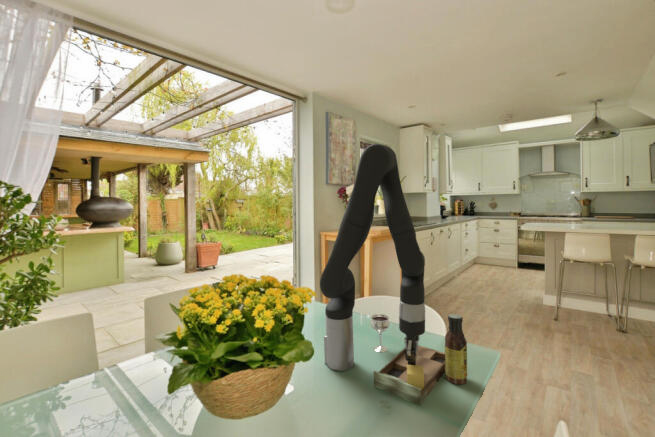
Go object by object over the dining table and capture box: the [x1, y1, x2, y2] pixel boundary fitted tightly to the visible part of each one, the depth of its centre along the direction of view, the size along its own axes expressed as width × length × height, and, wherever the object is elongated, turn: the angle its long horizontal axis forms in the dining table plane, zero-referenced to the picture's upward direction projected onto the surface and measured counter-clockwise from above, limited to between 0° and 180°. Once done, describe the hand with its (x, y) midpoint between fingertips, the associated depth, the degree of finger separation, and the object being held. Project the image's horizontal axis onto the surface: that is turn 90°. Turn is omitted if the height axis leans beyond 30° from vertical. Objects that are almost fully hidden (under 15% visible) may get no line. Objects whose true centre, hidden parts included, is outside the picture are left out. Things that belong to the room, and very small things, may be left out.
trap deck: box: [372, 344, 445, 406], centre depth 98 cm, size 14×28×4 cm, turn 141°
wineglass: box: [370, 313, 390, 353], centre depth 113 cm, size 7×7×12 cm
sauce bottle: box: [444, 313, 468, 385], centre depth 93 cm, size 7×6×20 cm
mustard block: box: [407, 365, 424, 390], centre depth 88 cm, size 4×4×4 cm
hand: (411, 370), depth 93 cm, fingers closed
